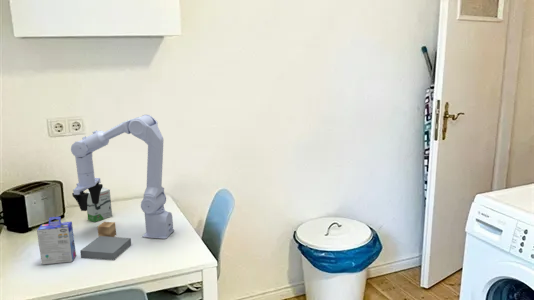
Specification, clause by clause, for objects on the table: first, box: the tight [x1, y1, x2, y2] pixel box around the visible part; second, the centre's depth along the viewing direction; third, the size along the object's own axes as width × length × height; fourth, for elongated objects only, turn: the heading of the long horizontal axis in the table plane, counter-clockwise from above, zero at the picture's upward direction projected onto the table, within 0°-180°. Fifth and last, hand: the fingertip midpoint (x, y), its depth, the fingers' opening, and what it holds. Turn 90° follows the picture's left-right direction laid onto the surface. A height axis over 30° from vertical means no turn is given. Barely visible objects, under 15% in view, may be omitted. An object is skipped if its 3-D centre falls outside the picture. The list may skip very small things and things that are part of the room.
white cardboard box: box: [85, 187, 113, 223], centre depth 189 cm, size 9×5×12 cm, turn 143°
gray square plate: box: [79, 236, 132, 261], centre depth 160 cm, size 12×12×3 cm
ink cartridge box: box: [36, 216, 77, 265], centre depth 152 cm, size 10×6×14 cm, turn 101°
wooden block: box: [97, 221, 117, 237], centre depth 171 cm, size 4×4×5 cm
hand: (90, 207), depth 175 cm, fingers open, 7 cm apart
